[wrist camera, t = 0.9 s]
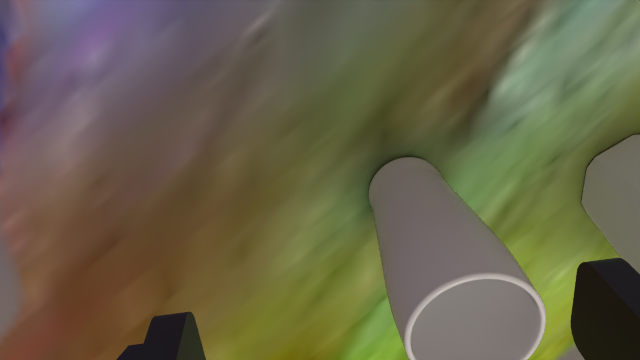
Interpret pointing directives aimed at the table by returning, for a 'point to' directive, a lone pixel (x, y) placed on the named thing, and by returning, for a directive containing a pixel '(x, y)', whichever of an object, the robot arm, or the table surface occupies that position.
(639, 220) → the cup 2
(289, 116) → the table surface
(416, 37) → the table surface
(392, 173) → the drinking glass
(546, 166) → the table surface
